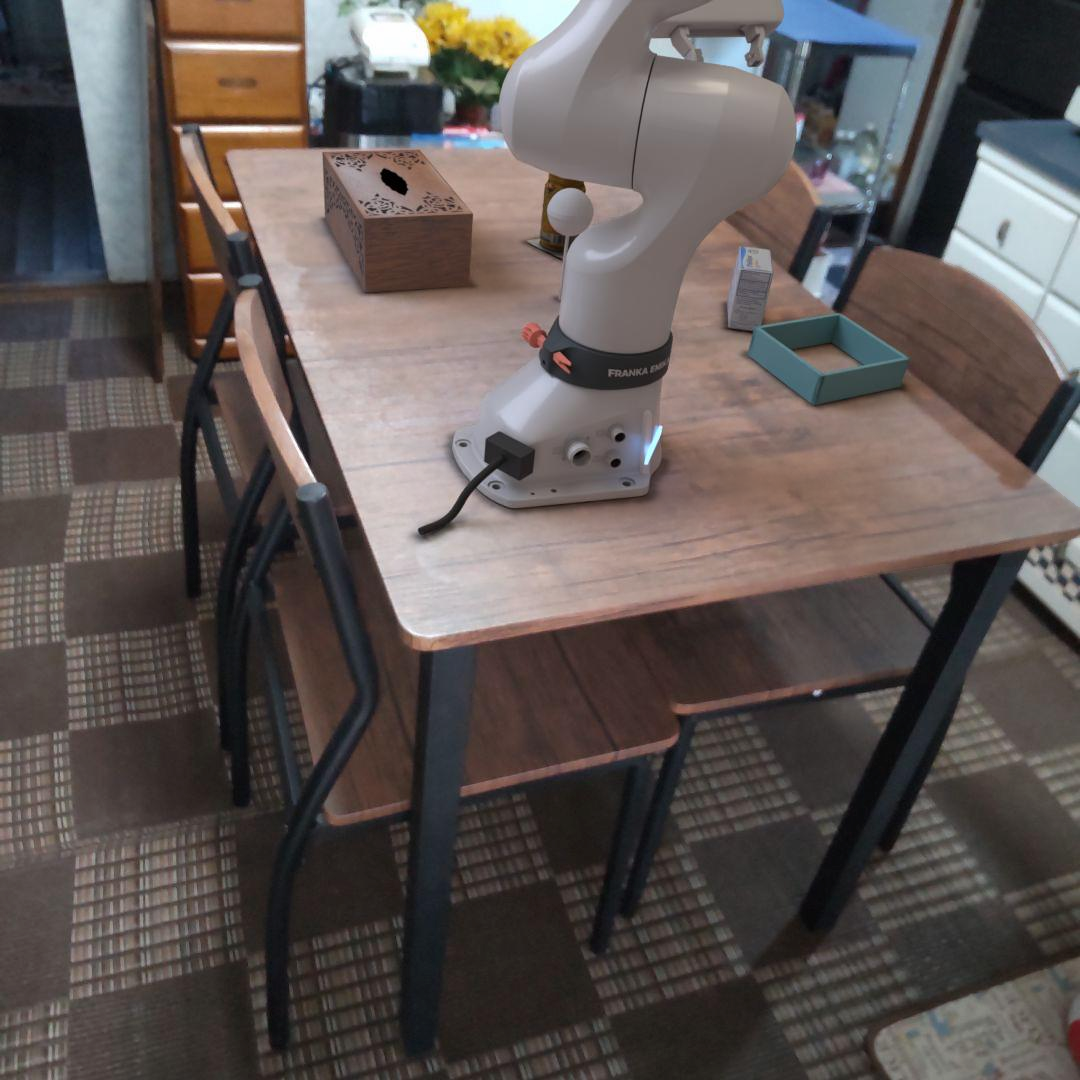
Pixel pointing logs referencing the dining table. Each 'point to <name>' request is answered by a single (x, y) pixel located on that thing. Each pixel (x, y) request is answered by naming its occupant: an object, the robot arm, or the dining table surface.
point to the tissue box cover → (397, 220)
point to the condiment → (548, 235)
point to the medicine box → (749, 288)
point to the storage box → (816, 387)
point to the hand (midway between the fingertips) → (726, 65)
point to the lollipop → (569, 217)
